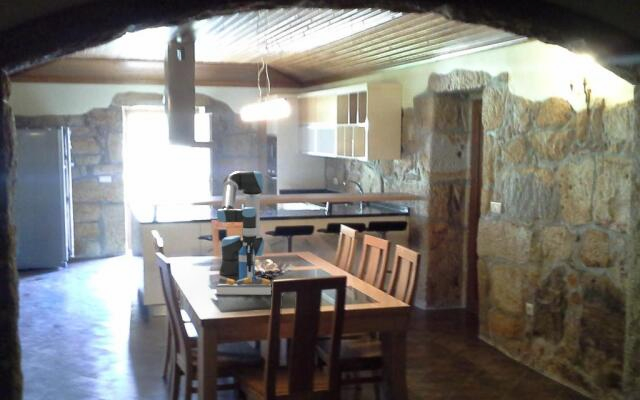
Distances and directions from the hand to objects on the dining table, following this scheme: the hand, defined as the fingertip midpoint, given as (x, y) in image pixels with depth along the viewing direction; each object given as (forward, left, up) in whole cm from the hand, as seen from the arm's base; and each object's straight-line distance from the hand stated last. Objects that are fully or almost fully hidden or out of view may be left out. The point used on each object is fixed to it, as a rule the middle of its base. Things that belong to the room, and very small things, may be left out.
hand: (249, 277), depth 384 cm
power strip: (0, -3, -9) cm, 9 cm away
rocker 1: (0, -13, -3) cm, 13 cm away
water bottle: (-20, -4, -9) cm, 22 cm away
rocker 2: (0, -3, -3) cm, 4 cm away
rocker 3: (0, +7, -3) cm, 7 cm away
